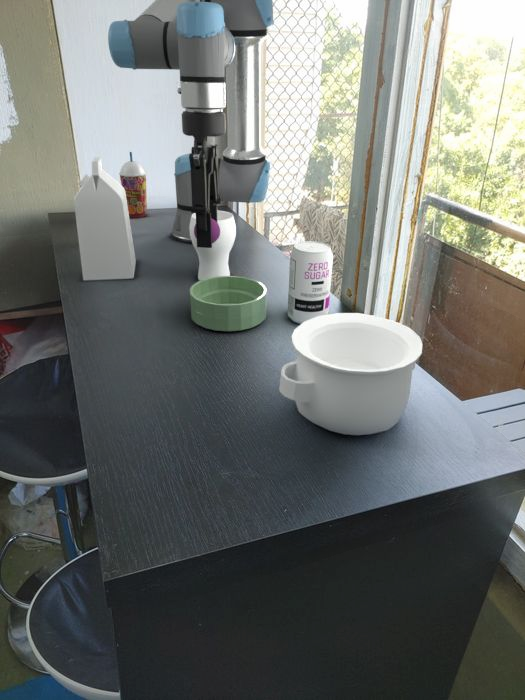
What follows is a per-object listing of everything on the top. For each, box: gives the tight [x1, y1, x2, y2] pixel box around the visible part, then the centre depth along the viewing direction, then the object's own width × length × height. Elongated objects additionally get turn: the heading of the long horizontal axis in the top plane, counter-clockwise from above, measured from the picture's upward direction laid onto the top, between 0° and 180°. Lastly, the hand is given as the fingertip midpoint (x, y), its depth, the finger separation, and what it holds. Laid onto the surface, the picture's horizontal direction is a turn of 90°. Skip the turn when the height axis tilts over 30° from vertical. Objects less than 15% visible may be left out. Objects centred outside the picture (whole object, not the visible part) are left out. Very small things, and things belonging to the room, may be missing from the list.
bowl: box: [188, 275, 268, 332], centre depth 105 cm, size 15×15×6 cm
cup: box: [189, 210, 237, 281], centre depth 122 cm, size 11×11×15 cm
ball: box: [194, 218, 220, 243], centre depth 100 cm, size 5×5×5 cm
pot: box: [278, 312, 424, 436], centre depth 75 cm, size 22×17×12 cm
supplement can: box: [287, 240, 334, 325], centre depth 103 cm, size 8×8×15 cm
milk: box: [73, 156, 137, 281], centre depth 122 cm, size 12×12×26 cm
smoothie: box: [119, 151, 148, 219], centre depth 169 cm, size 8×8×20 cm
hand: (207, 242), depth 101 cm, fingers closed on ball, 5 cm apart
